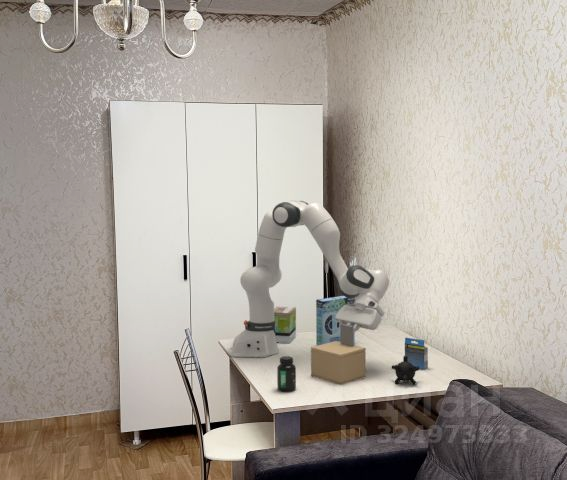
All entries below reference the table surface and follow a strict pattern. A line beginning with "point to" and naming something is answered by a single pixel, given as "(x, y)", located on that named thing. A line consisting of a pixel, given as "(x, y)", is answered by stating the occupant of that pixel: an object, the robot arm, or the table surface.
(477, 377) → the table surface
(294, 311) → the tea box
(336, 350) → the lid
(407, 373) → the toy ball
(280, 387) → the supplement bottle
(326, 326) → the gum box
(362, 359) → the carton
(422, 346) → the label tape box
